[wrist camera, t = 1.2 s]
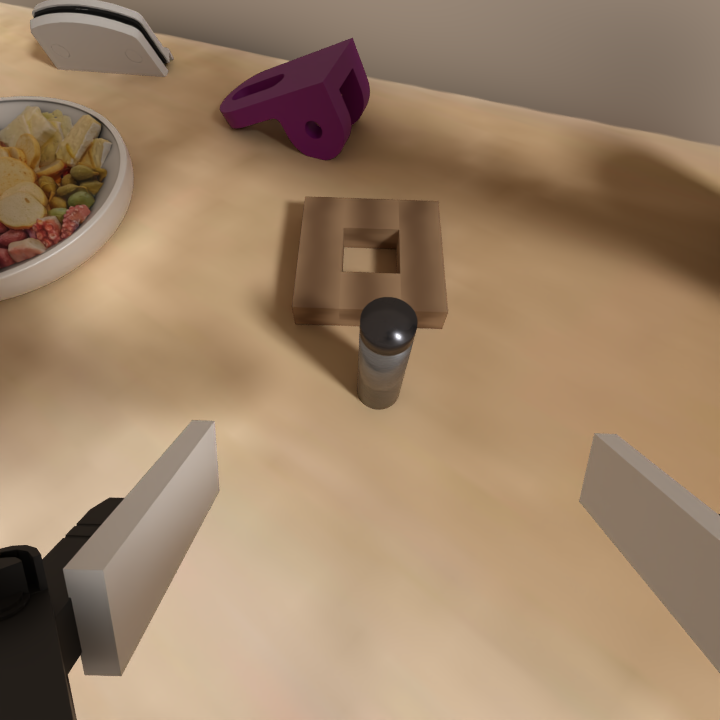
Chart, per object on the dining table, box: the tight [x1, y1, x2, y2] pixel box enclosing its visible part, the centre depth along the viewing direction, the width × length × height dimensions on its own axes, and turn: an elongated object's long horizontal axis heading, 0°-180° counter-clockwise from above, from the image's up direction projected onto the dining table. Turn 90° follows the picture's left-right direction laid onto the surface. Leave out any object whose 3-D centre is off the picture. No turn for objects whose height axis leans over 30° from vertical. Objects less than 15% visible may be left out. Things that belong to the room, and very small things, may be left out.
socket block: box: [292, 197, 448, 329], centre depth 45 cm, size 15×15×3 cm
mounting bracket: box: [220, 38, 370, 160], centre depth 56 cm, size 10×9×19 cm
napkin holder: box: [30, 0, 174, 77], centre depth 60 cm, size 17×5×10 cm, turn 85°
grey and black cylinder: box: [357, 297, 418, 409], centre depth 35 cm, size 4×4×12 cm
